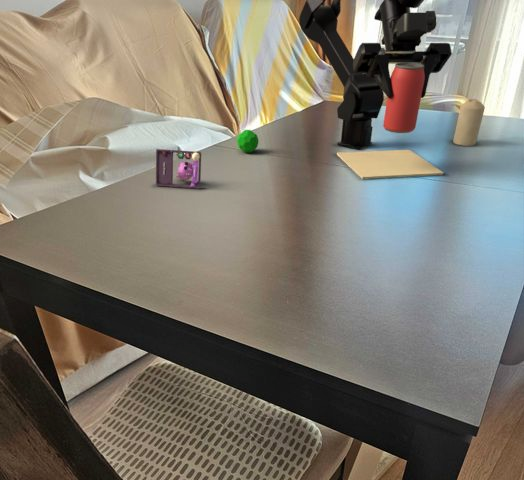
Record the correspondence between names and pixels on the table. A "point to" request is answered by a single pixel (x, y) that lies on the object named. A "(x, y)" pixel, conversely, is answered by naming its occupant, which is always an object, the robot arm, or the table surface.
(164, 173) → the packaged toy box
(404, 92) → the beer can
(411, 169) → the centre mat
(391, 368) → the table surface
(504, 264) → the table surface
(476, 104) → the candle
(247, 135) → the polyhedron
